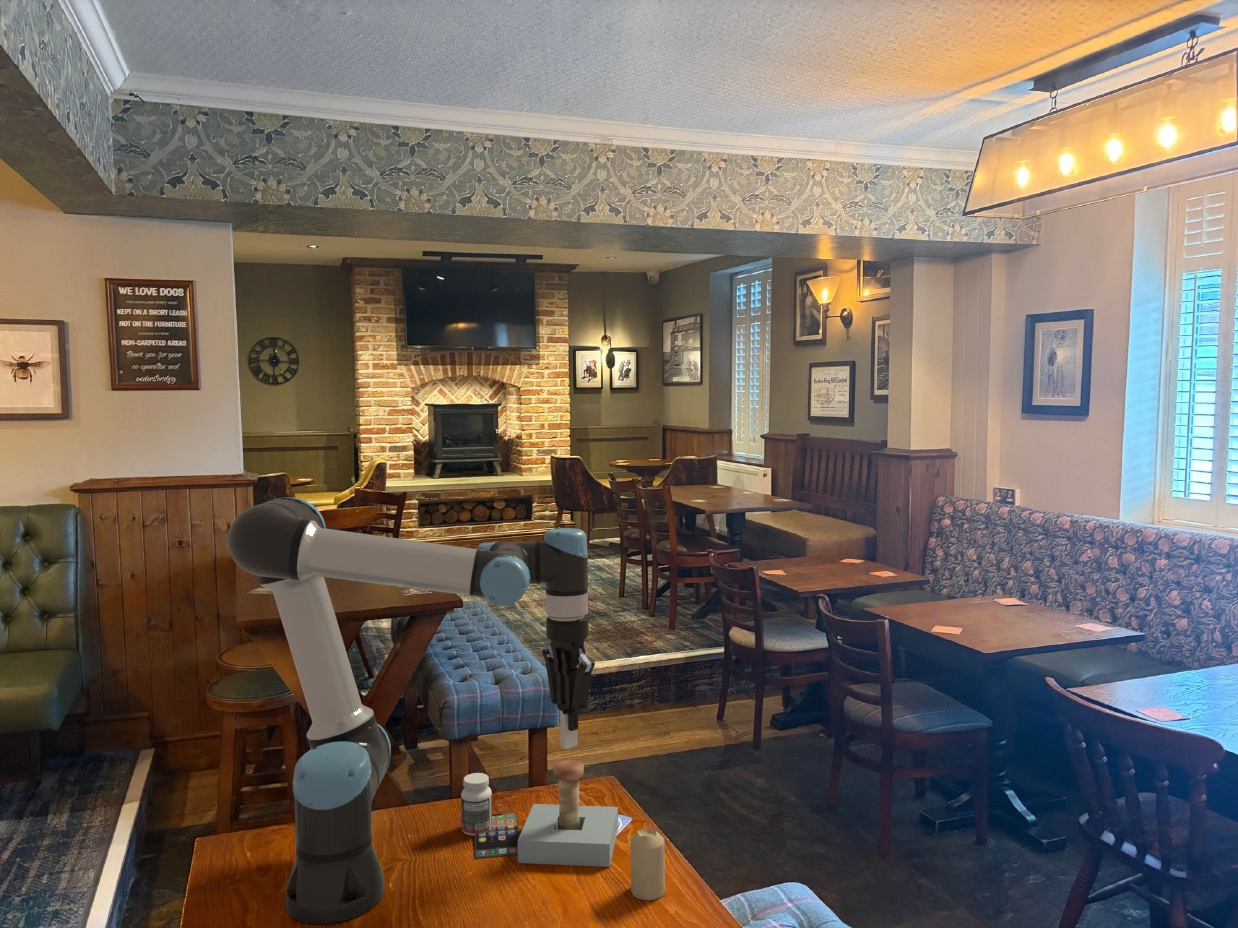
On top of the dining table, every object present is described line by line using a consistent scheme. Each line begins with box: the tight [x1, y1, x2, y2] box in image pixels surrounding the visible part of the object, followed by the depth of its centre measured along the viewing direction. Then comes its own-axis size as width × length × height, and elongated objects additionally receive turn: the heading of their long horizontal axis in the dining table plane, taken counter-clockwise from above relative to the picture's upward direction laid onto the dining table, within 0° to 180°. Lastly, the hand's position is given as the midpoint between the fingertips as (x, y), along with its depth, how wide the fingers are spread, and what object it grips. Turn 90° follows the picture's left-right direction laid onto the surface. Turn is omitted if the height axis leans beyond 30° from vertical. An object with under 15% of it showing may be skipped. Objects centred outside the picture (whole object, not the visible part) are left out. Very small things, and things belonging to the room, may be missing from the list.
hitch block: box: [517, 803, 619, 868], centre depth 155 cm, size 16×14×4 cm
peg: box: [553, 759, 585, 830], centre depth 155 cm, size 5×5×14 cm
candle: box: [630, 827, 666, 901], centre depth 140 cm, size 6×6×10 cm
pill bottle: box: [460, 772, 493, 837], centre depth 161 cm, size 6×6×10 cm
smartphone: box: [474, 812, 520, 860], centre depth 159 cm, size 8×15×1 cm, turn 9°
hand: (569, 745), depth 154 cm, fingers closed
